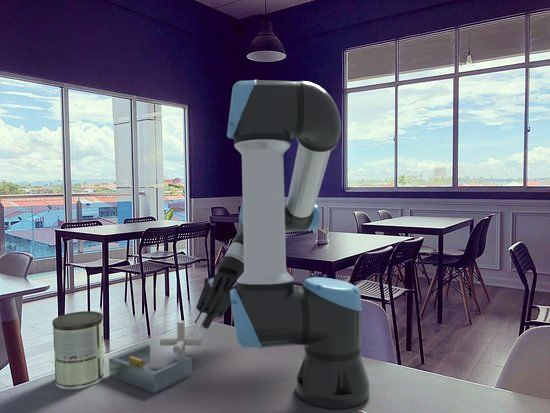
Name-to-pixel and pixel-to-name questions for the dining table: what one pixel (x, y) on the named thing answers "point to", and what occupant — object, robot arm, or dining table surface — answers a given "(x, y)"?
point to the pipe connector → (180, 341)
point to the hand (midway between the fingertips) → (194, 337)
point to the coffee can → (78, 349)
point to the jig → (147, 370)
